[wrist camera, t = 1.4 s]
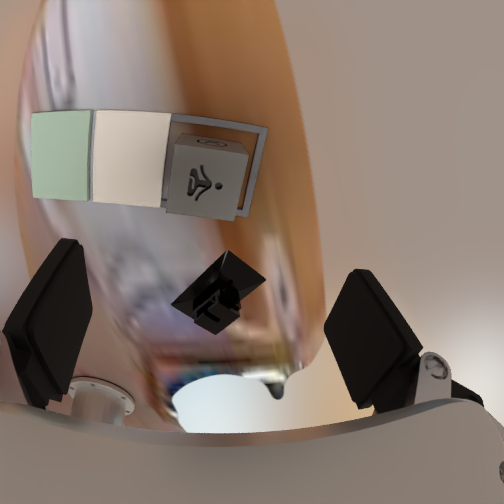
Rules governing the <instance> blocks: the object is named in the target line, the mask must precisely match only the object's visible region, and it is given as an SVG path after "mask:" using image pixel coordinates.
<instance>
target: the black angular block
mask: <svg viewBox="0 0 504 504" xmlns="http://www.w3.org/2000/svg"><path fill="white" fill-rule="evenodd" d="M264 281H266V279H265V278H264V277H263V276H261V275H260V274H259V273H258V272H256V271H255V270H254V269H252V268H251V267H250V266H248V265H247V264H246V263H245V262H243V261H242V260H241V259H239V258H238V257H237V256H235V255H234V254H233V253H232V252H230V251H229V250H227V251H225V252H224V253H223V254H222V255H221V256H220V257H219V258H218V259H217V260H216V261H215V262H214V263H213V264H212V265H211V266H210V267H209V268H208V269H207V270H206V271H205V272H204V273H203V274H201V275H200V276H199V277H198V278H197V279H196V280H195V281H194V282H193V283H192V284H191V285H190V286H189V287H188V288H187V289H186V290H185V291H184V292H183V293H182V294H181V295H180V296H179V297H178V298H177V299H176V300H175V301H174V302H173V303H172V304H171V305H172V306H173V307H175V308H176V309H178V310H179V311H181V312H183V313H184V314H186V315H188V316H189V317H191V318H192V319H194V323H195V324H197V325H199V326H201V327H202V328H204V329H206V330H207V331H209V332H211V333H213V334H215V335H217V334H218V333H219V332H221V331H222V330H223V329H225V328H226V327H227V326H228V325H230V324H231V323H232V322H234V321H235V320H236V319H238V318H239V317H240V313H239V310H240V309H241V304H240V300H242V299H243V298H244V297H246V296H247V295H248V294H249V293H251V292H252V291H253V290H254V289H256V288H257V287H258V286H259V285H261V284H262V283H263V282H264Z"/></svg>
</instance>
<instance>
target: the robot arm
mask: <svg viewBox="0 0 504 504" xmlns="http://www.w3.org/2000/svg"><path fill="white" fill-rule="evenodd" d="M92 310H93V308H92V301H91V296H90V290H89V285H88V279H87V272H86V265H85V258H84V249H83V246H82V245H80V244H79V242H78V240H75V239H67V238H61V239H60V240H59V242H58V243H57V244H56V246H55V247H54V248H53V250H52V251H51V252H50V254H49V255H48V256H47V258H46V259H45V261H44V262H43V264H42V265H41V266H40V268H39V269H38V271H37V272H36V274H35V275H34V277H33V278H32V280H31V281H30V283H29V285H28V286H27V288H26V289H25V291H24V292H23V294H22V295H21V297H20V299H19V300H18V302H17V304H16V305H15V307H14V309H13V311H12V312H11V314H10V316H9V318H8V320H7V321H6V323H5V326H4V329H3V330H2V332H1V331H0V504H504V427H503V426H502V425H501V424H500V423H499V422H498V421H497V420H496V419H495V418H494V417H493V416H492V415H491V414H490V413H489V412H487V411H486V410H485V408H484V405H483V400H482V398H481V397H480V396H479V395H478V394H476V393H475V392H473V391H471V390H469V389H467V388H466V387H464V386H462V385H460V384H459V383H457V382H455V381H453V380H452V379H451V369H450V367H449V365H448V363H447V362H446V360H444V359H443V358H442V357H441V356H439V355H438V354H436V353H433V352H426V353H424V354H423V355H422V356H421V357H420V356H419V352H420V351H421V350H422V349H423V346H422V345H421V343H420V342H419V340H418V338H417V337H416V335H415V334H414V333H413V331H412V329H411V328H410V326H409V325H408V323H407V322H406V320H405V319H404V317H403V316H402V314H401V313H400V311H399V310H398V308H397V307H396V306H395V304H394V303H393V301H392V300H391V299H390V297H389V296H388V294H387V293H386V292H385V290H384V289H383V287H382V286H381V284H380V283H379V282H378V280H377V279H376V278H375V276H374V275H373V274H372V272H371V271H370V270H365V269H354V270H353V272H351V273H349V275H348V277H347V279H346V281H345V283H344V285H343V287H342V289H341V291H340V294H339V296H338V298H337V300H336V302H335V304H334V306H333V308H332V310H331V312H330V314H329V316H328V318H327V320H326V322H325V324H324V333H325V335H326V337H327V340H328V342H329V345H330V347H331V349H332V352H333V354H334V357H335V359H336V361H337V364H338V366H339V369H340V371H341V374H342V376H343V379H344V381H345V384H346V386H347V389H348V391H349V394H350V396H351V399H352V401H353V402H355V403H356V404H357V407H358V409H364V408H369V407H371V406H372V405H373V406H374V408H375V409H374V412H373V415H372V416H369V417H364V418H360V419H355V420H350V421H345V422H340V423H334V424H329V425H322V426H315V427H308V428H301V429H293V430H282V431H271V432H256V433H229V434H228V433H227V434H226V433H224V434H220V433H219V434H218V433H217V434H215V433H184V432H169V431H157V430H148V429H139V428H132V427H125V426H124V420H125V416H126V415H129V414H131V413H132V412H133V411H134V408H135V402H134V400H133V398H132V397H131V396H130V395H129V394H128V393H127V392H125V391H124V390H123V389H121V388H119V387H117V386H115V385H113V384H111V383H108V382H106V381H103V380H99V379H95V378H89V377H78V378H74V379H72V375H73V372H74V368H75V365H76V361H77V358H78V355H79V352H80V348H81V345H82V342H83V339H84V336H85V333H86V330H87V327H88V325H89V322H90V319H91V316H92ZM67 393H69V395H70V396H71V398H72V399H73V403H72V407H71V412H70V416H68V415H63V414H60V413H56V412H52V411H49V410H48V408H47V405H48V403H49V399H51V400H55V401H58V402H61V401H62V396H63V394H65V395H66V394H67Z"/></svg>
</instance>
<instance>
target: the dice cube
mask: <svg viewBox="0 0 504 504" xmlns="http://www.w3.org/2000/svg"><path fill="white" fill-rule="evenodd" d="M248 158H249V154H248V153H247V151H246V150H245V148H244V147H243V145H242V143H239V142H234V141H228V140H222V139H216V138H209V137H203V136H196V135H188V134H181V135H180V137H179V138H178V140H177V141H176V143H175V146H174V153H173V159H172V166H171V174H170V181H169V189H168V198H167V207H166V213H173V214H181V215H189V216H197V217H205V218H213V219H220V220H227V221H234V220H235V215H236V211H237V206H238V202H239V197H240V193H241V189H242V184H243V180H244V175H245V171H246V167H247V163H248Z"/></svg>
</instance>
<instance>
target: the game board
mask: <svg viewBox="0 0 504 504" xmlns="http://www.w3.org/2000/svg"><path fill="white" fill-rule="evenodd" d="M92 116H93V110H71V111H52V112H39V113H32V117H31V175H32V190H33V198H45V199H61V200H76V201H88V200H89V199H90V191H89V171H90V142H91V128H92ZM171 121H176V122H185V123H194V124H202V125H210V126H217V127H224V128H230V129H236V130H242V131H248V132H253V133H259V134H258V138H257V143H256V147H255V152H254V156H253V161H252V165H251V170H250V174H249V179H248V184H247V188H246V193H245V198H244V202H243V207H242V208H237V211H236V215H235V216H243V217H248V214H249V210H250V205H251V201H252V197H253V192H254V188H255V183H256V179H257V174H258V170H259V166H260V161H261V157H262V153H263V148H264V144H265V140H266V135H267V131H268V128H267V127H262V126H256V125H251V124H246V123H240V122H234V121H228V120H221V119H215V118H207V117H200V116H191V115H182V114H172V113H161V112H147V111H127V110H97V113H96V124H95V137H94V155H93V202H102V203H114V204H125V205H136V206H146V207H156V208H160V207H165V208H166V207H167V200H166V199H161V198H162V187H163V177H164V168H165V159H166V151H167V143H168V136H169V129H170V122H171Z"/></svg>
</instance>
